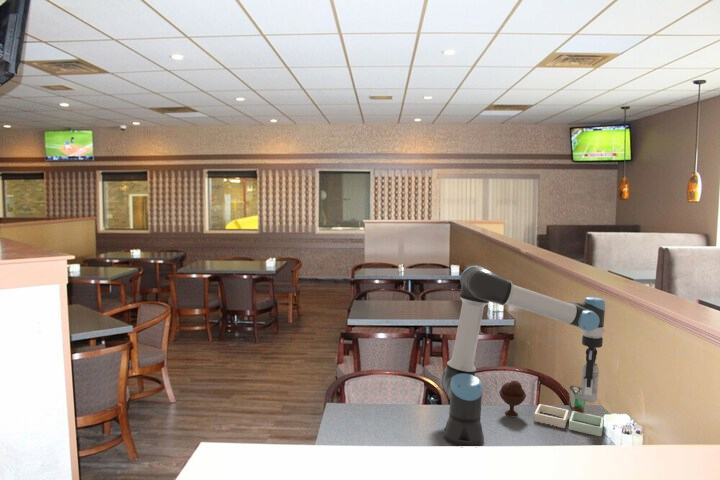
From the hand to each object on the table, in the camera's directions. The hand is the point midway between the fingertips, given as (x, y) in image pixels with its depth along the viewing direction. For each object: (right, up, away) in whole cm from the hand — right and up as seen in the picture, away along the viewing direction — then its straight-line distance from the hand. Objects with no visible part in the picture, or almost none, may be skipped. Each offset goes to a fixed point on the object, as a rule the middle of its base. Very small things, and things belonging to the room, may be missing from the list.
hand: (588, 391), depth 208 cm
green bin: (-1, -15, +1) cm, 15 cm away
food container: (+3, -14, +17) cm, 22 cm away
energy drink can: (0, -4, 0) cm, 4 cm away
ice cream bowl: (-28, -13, +12) cm, 33 cm away
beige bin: (-13, -14, +7) cm, 20 cm away
